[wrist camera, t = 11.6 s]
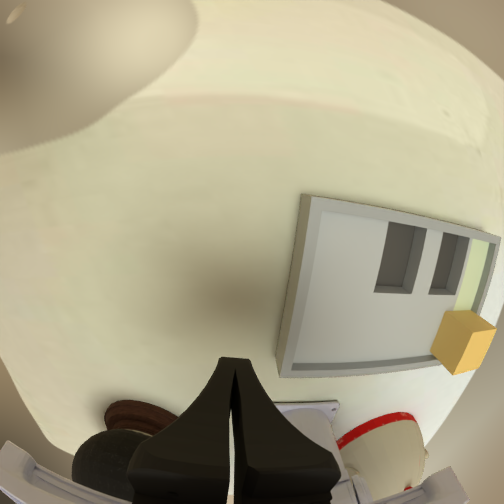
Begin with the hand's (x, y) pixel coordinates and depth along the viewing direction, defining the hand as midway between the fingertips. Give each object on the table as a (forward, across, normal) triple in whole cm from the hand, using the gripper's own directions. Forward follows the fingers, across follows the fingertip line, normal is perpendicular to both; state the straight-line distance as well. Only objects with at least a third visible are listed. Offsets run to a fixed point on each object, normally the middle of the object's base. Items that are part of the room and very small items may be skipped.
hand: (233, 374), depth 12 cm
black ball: (+10, +9, +20) cm, 24 cm away
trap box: (+10, -14, -1) cm, 18 cm away
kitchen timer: (+10, -21, +23) cm, 33 cm away
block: (+8, -22, +2) cm, 23 cm away
